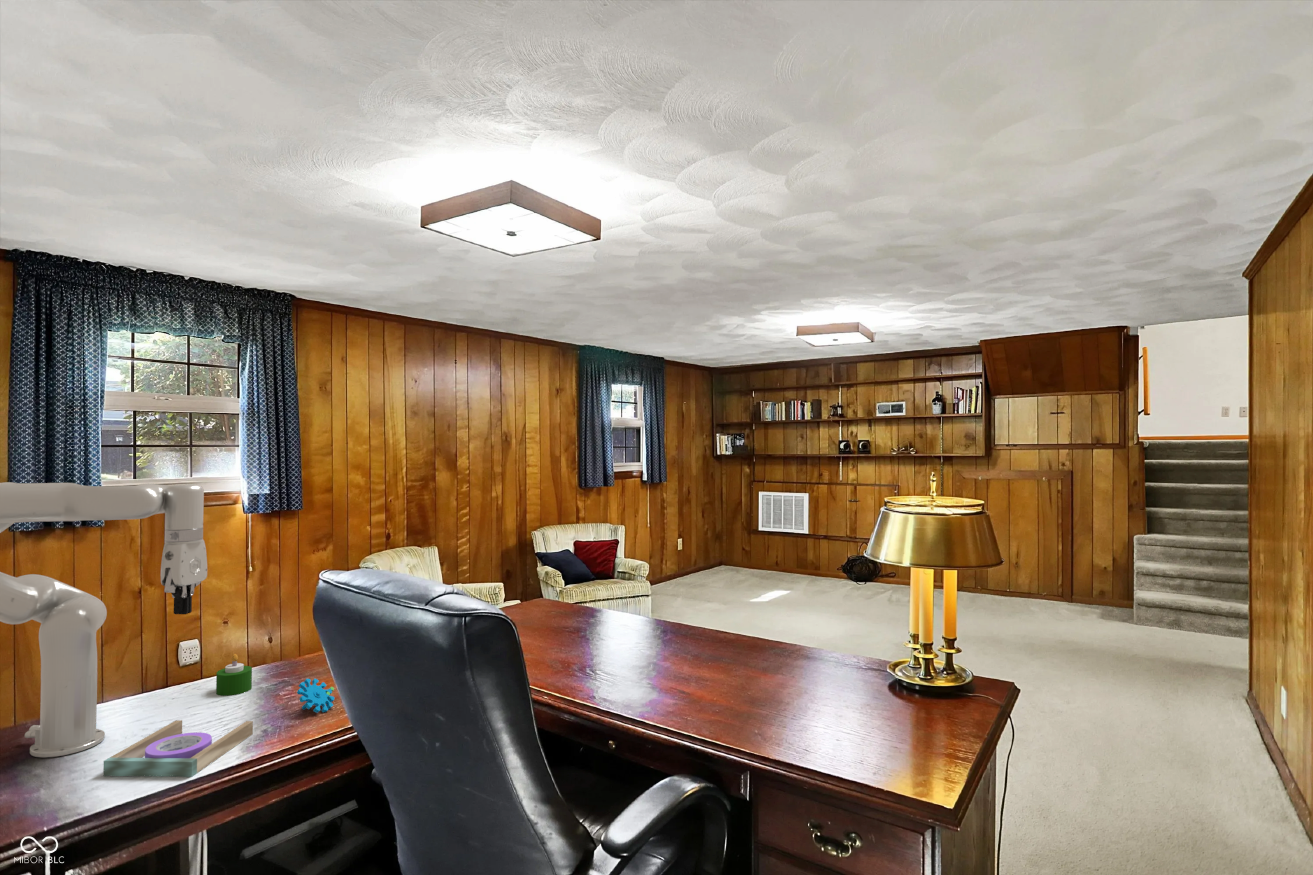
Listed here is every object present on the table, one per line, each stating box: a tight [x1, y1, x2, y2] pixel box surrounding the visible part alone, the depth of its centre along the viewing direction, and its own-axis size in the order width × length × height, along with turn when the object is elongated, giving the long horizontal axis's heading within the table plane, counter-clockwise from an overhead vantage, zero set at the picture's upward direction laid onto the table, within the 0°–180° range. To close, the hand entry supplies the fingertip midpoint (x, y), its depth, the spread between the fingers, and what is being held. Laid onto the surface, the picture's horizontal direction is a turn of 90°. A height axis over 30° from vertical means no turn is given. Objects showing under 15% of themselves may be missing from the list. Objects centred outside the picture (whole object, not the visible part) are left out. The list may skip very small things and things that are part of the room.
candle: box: [215, 653, 253, 697], centre depth 186 cm, size 8×8×10 cm
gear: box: [296, 678, 335, 714], centre depth 173 cm, size 11×6×10 cm
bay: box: [102, 719, 254, 778], centre depth 148 cm, size 18×20×3 cm
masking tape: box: [144, 731, 213, 758], centre depth 145 cm, size 12×12×4 cm
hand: (182, 613), depth 161 cm, fingers closed
